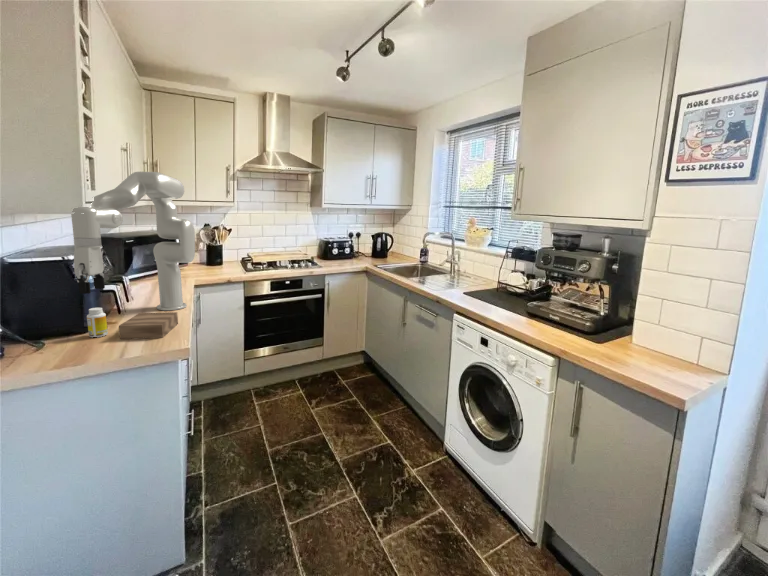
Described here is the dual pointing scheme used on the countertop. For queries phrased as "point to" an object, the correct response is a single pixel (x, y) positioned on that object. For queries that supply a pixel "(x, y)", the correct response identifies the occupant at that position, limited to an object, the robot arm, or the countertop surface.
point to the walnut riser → (148, 325)
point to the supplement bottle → (97, 323)
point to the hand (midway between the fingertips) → (92, 290)
